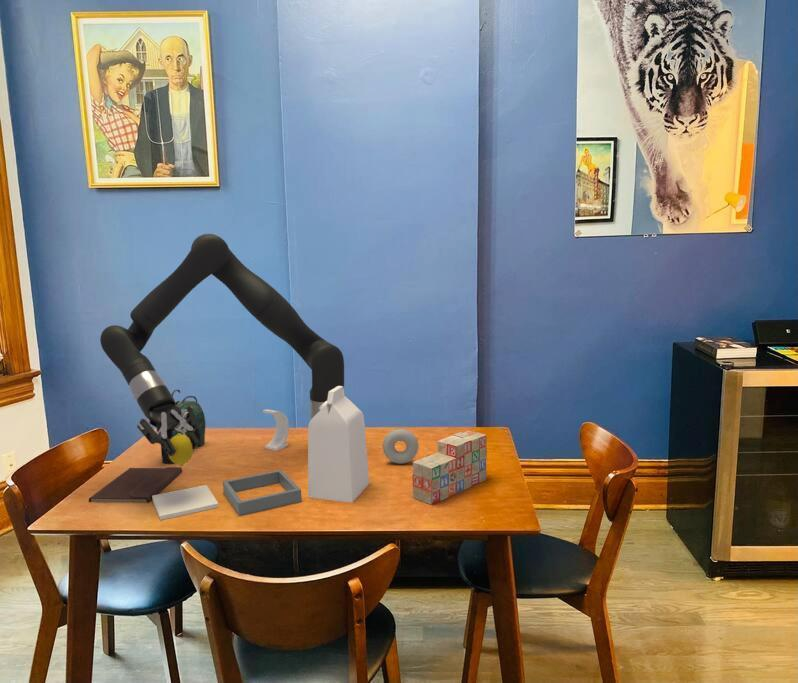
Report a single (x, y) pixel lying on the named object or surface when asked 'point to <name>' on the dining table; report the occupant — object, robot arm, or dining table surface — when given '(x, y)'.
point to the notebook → (137, 485)
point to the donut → (406, 438)
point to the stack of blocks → (450, 467)
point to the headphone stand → (278, 431)
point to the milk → (337, 450)
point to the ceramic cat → (198, 431)
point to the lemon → (181, 449)
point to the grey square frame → (264, 501)
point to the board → (184, 502)
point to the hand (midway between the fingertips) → (184, 450)
